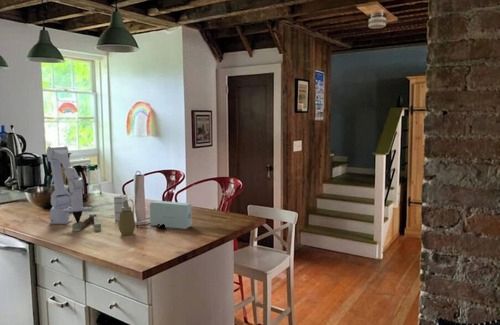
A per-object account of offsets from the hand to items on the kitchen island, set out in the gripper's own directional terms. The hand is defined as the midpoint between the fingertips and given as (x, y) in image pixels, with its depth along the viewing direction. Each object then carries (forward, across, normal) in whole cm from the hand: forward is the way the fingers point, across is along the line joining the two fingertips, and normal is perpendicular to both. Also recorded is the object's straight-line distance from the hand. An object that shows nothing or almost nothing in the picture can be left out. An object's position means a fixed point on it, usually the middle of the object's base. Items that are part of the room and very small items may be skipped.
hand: (78, 224), depth 219 cm
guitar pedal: (+2, +48, -16) cm, 50 cm away
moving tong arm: (+1, +2, 0) cm, 2 cm away
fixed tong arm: (+1, +9, +1) cm, 9 cm away
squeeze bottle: (+2, +24, -23) cm, 33 cm away
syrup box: (+2, +24, +9) cm, 25 cm away
